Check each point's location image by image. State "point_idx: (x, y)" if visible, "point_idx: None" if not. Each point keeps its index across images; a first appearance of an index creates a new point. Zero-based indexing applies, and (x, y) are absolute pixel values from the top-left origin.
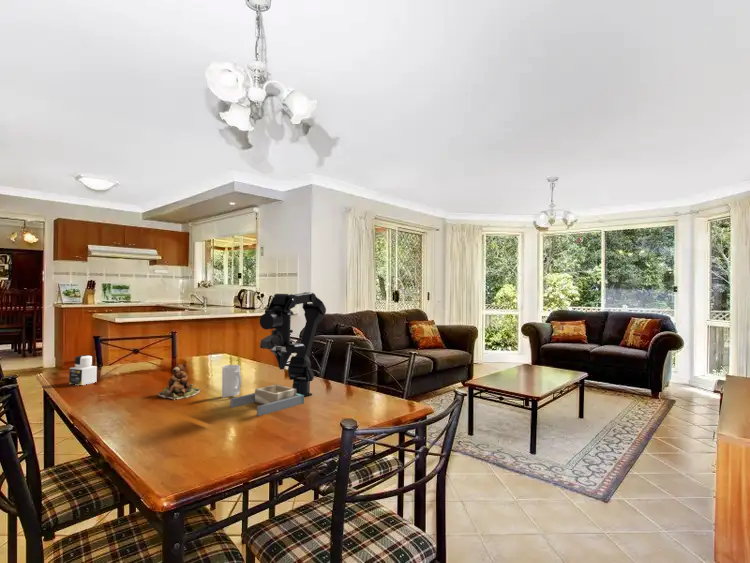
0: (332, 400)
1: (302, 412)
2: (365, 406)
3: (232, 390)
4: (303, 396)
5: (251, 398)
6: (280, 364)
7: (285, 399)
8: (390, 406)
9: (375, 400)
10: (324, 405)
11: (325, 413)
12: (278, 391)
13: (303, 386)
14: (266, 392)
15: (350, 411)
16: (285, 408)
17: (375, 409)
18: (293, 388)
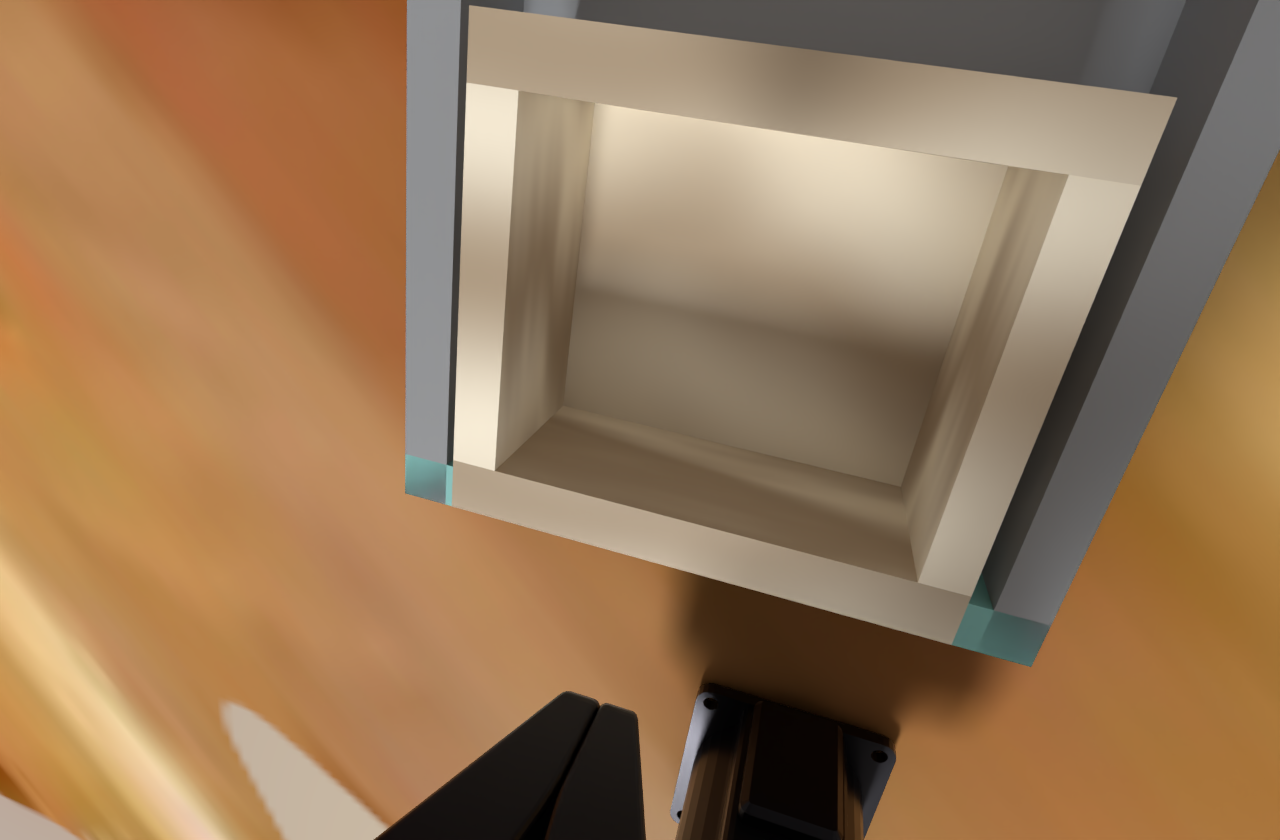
0: (400, 699)
1: (327, 232)
2: (111, 633)
3: None
4: (415, 478)
5: (1184, 83)
6: (494, 821)
7: (432, 176)
8: (17, 687)
9: (175, 785)
10: (343, 540)
11: (160, 323)
12: (840, 512)
13: (688, 829)
14: (738, 42)
15: (81, 473)
16: None
17: (19, 591)
18: (511, 517)
